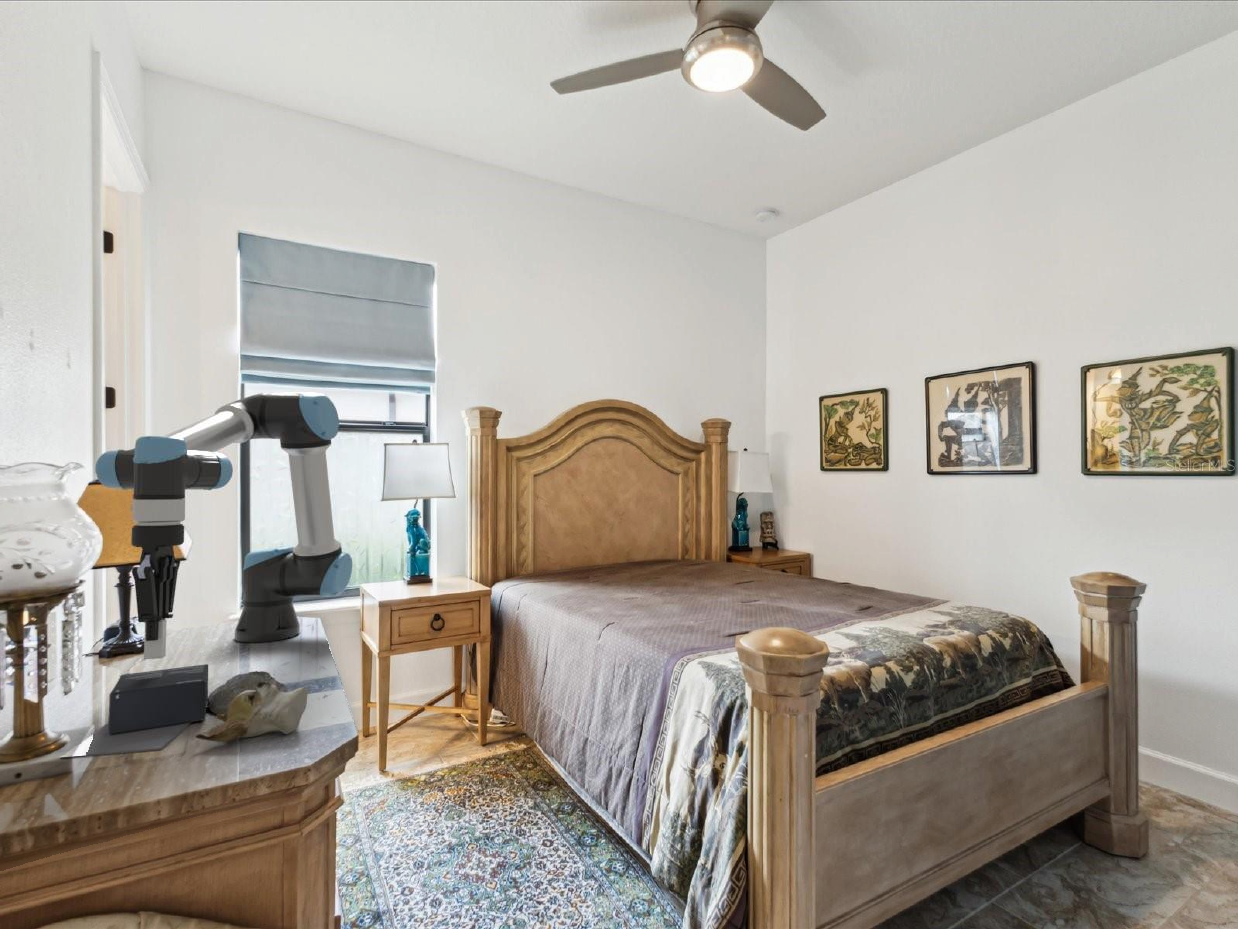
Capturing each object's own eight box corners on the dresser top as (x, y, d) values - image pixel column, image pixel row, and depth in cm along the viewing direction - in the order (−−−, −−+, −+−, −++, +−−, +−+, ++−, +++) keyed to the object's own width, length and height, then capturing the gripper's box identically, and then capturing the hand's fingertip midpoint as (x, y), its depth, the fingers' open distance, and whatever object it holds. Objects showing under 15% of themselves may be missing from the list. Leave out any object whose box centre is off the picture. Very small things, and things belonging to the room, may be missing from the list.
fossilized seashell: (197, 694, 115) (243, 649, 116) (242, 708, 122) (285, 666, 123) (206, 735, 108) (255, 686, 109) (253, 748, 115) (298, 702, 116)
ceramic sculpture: (300, 686, 99) (192, 700, 95) (302, 741, 99) (194, 757, 95) (314, 667, 109) (216, 679, 105) (316, 717, 109) (218, 731, 105)
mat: (122, 715, 110) (122, 713, 110) (206, 708, 113) (206, 707, 113) (60, 758, 92) (60, 756, 92) (161, 749, 96) (161, 747, 96)
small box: (119, 714, 110) (105, 736, 100) (120, 674, 110) (107, 692, 100) (208, 700, 117) (205, 720, 106) (209, 663, 117) (206, 679, 107)
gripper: (151, 521, 117) (147, 649, 116) (114, 526, 104) (110, 669, 103) (197, 521, 118) (194, 647, 118) (166, 525, 106) (162, 666, 105)
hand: (154, 657), depth 110 cm, fingers closed
